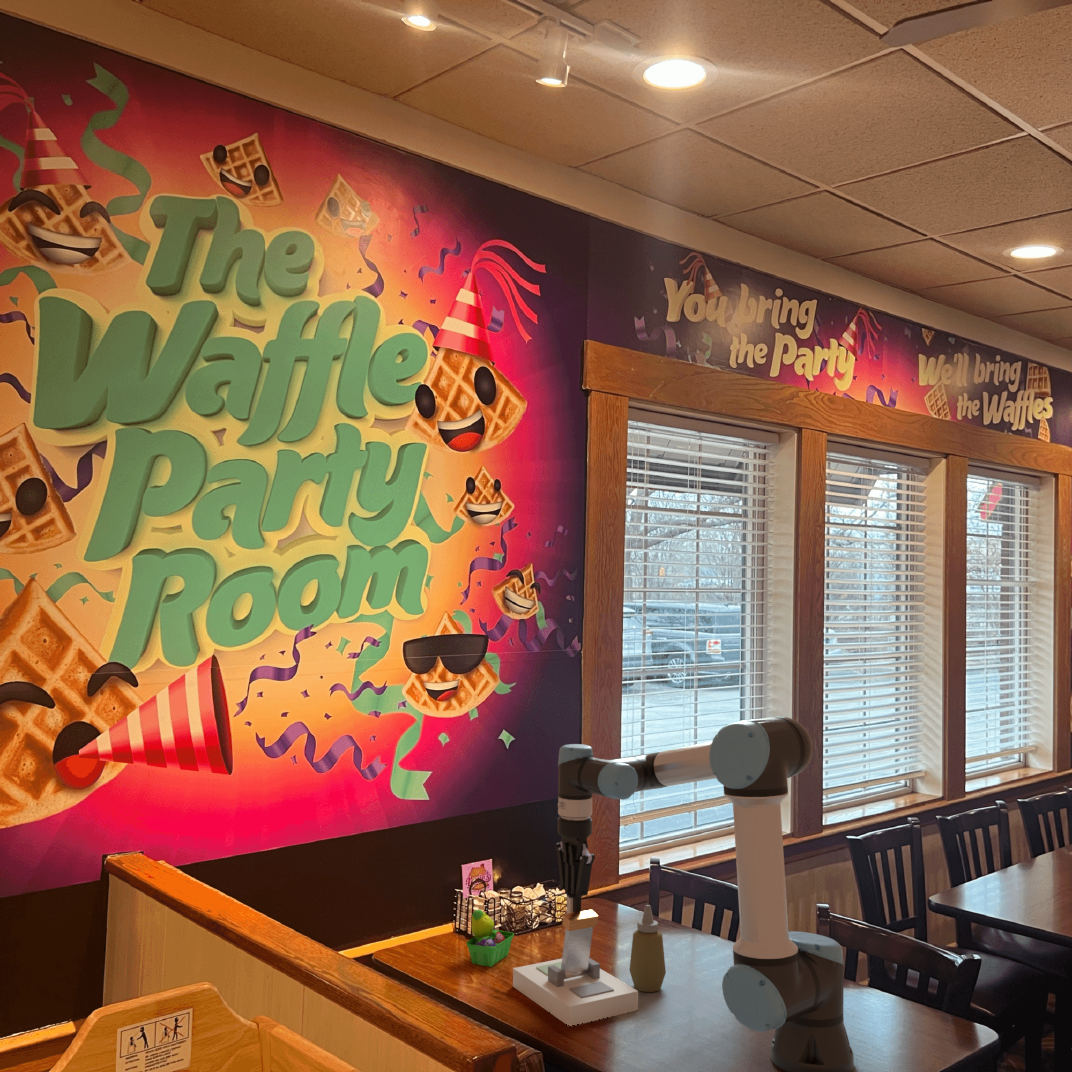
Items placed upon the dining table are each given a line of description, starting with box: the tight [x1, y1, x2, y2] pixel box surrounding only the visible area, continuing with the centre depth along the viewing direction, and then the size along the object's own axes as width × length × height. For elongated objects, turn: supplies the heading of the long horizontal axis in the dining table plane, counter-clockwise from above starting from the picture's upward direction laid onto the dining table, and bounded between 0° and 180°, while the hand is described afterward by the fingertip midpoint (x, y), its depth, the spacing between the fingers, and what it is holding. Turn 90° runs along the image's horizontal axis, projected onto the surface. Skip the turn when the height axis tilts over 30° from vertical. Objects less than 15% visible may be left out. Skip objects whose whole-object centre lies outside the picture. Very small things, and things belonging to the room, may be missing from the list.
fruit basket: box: [465, 909, 515, 968], centre depth 245 cm, size 11×9×11 cm
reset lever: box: [561, 909, 599, 979], centre depth 221 cm, size 3×7×14 cm, turn 120°
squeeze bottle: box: [629, 904, 667, 993], centre depth 228 cm, size 8×8×18 cm
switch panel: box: [512, 957, 639, 1027], centre depth 221 cm, size 24×17×7 cm
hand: (573, 925), depth 222 cm, fingers closed
